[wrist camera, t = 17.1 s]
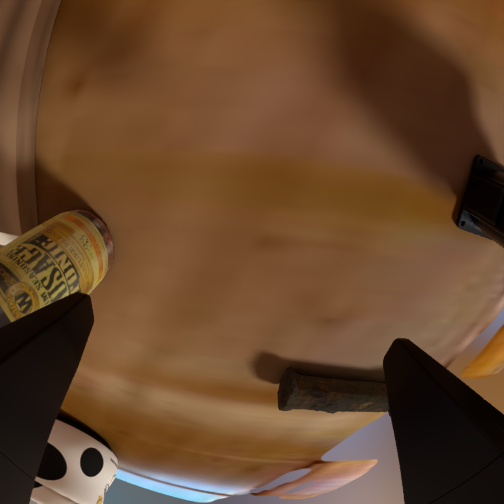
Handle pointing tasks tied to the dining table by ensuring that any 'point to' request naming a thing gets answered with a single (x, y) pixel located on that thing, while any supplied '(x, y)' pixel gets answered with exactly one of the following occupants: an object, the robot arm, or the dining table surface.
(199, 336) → the dining table surface
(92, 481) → the milk container
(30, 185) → the walnut board
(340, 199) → the dining table surface
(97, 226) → the sauce bottle
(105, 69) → the dining table surface
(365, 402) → the hand tool
